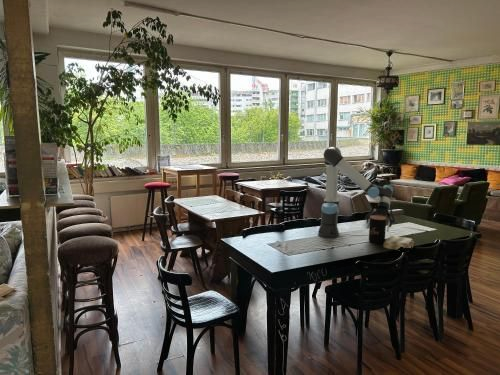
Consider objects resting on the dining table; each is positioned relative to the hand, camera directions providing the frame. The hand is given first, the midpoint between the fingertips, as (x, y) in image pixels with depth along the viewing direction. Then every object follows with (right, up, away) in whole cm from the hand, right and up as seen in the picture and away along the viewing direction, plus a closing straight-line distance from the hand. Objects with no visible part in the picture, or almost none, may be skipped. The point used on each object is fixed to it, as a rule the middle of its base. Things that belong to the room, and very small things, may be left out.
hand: (377, 229), depth 253 cm
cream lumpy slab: (+12, -11, -7) cm, 18 cm away
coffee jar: (0, -10, +3) cm, 10 cm away
